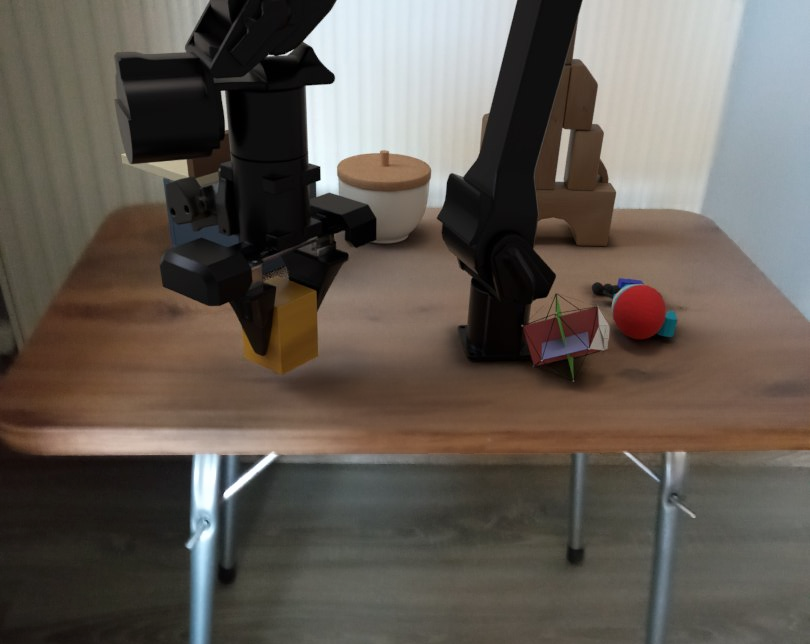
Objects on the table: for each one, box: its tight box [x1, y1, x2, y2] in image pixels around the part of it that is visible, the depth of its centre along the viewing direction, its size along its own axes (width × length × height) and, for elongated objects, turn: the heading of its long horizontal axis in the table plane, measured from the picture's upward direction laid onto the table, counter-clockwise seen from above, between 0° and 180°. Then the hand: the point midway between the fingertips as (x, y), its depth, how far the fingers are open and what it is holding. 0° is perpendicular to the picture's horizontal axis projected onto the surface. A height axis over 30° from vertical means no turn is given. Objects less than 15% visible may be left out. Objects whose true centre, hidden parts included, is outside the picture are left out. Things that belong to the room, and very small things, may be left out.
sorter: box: [162, 177, 317, 275], centre depth 98 cm, size 12×11×8 cm
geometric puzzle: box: [522, 292, 611, 383], centre depth 80 cm, size 7×7×8 cm
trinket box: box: [336, 149, 432, 245], centre depth 103 cm, size 11×11×9 cm
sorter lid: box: [121, 129, 231, 186], centre depth 97 cm, size 12×11×4 cm
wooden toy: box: [479, 18, 617, 247], centre depth 100 cm, size 16×7×25 cm, turn 92°
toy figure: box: [591, 277, 678, 340], centre depth 89 cm, size 8×5×15 cm
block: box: [241, 275, 319, 376], centre depth 75 cm, size 4×4×6 cm
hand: (281, 344), depth 76 cm, fingers closed on block, 4 cm apart
